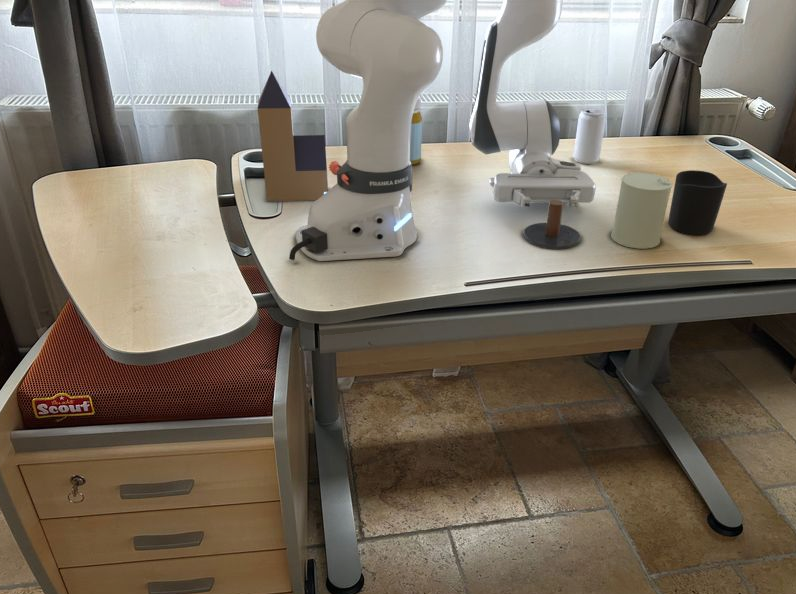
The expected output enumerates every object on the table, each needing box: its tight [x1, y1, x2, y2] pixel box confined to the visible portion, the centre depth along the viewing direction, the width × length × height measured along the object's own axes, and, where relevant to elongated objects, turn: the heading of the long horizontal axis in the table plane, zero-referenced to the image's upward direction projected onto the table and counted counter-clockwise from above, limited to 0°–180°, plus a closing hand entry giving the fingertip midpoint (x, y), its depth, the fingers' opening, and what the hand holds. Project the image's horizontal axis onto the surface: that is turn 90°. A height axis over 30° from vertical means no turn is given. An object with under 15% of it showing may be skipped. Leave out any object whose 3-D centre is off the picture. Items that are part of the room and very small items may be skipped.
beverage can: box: [572, 107, 607, 165], centre depth 172 cm, size 6×6×12 cm
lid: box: [523, 200, 581, 250], centre depth 135 cm, size 11×11×7 cm
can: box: [610, 171, 673, 250], centre depth 135 cm, size 9×9×12 cm
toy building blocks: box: [257, 70, 329, 203], centre depth 149 cm, size 12×19×25 cm, turn 10°
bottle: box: [410, 95, 423, 166], centre depth 167 cm, size 7×7×15 cm
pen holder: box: [667, 169, 728, 236], centre depth 141 cm, size 9×9×10 cm
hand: (550, 203), depth 138 cm, fingers open, 8 cm apart
